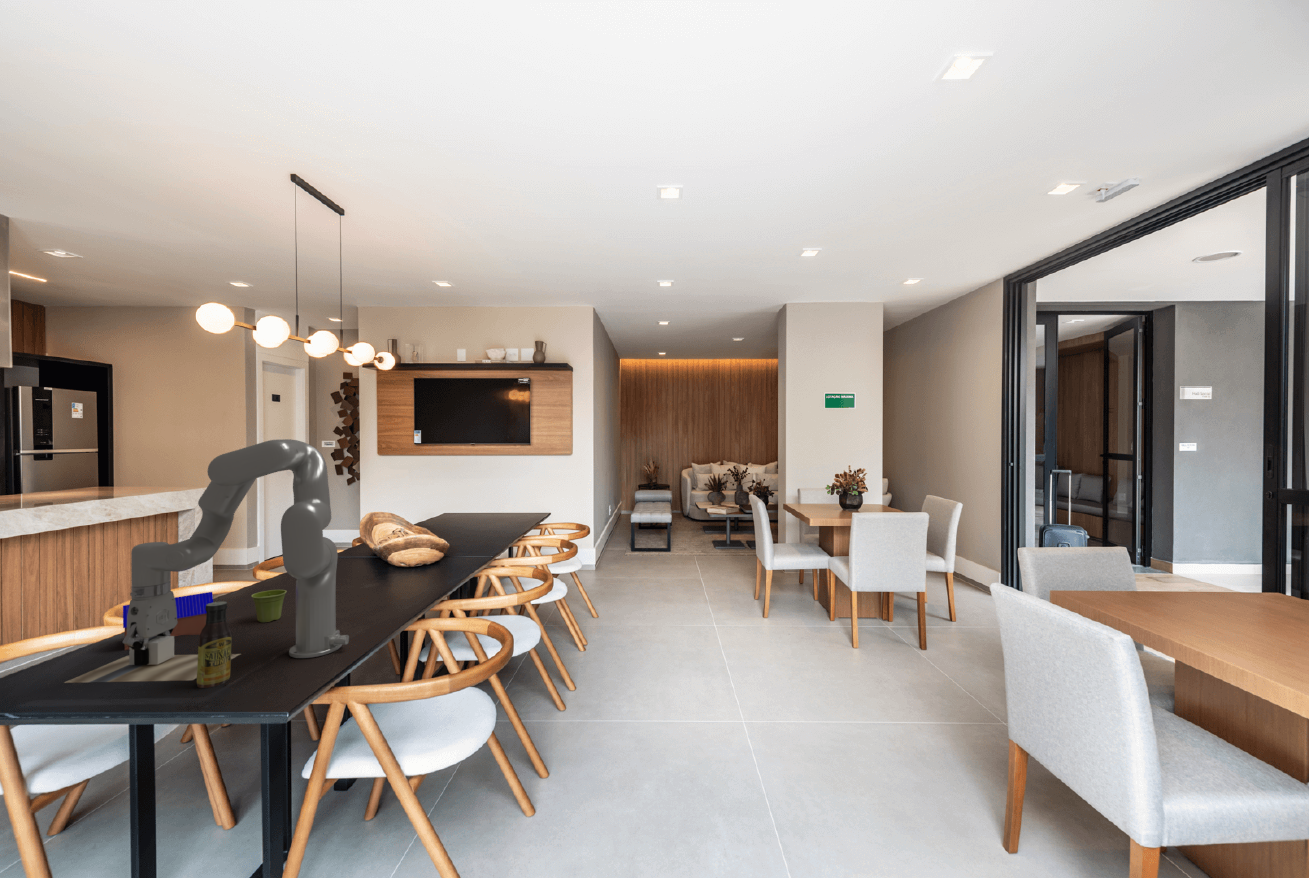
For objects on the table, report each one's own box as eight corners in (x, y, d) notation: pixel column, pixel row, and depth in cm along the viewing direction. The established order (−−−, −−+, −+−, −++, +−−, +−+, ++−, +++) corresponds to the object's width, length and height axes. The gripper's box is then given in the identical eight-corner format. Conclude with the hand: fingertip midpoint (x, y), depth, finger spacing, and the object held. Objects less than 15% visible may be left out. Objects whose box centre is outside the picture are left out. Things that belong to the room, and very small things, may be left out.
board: (241, 658, 145) (241, 653, 145) (192, 685, 129) (192, 680, 129) (127, 660, 144) (127, 655, 144) (63, 687, 128) (63, 682, 128)
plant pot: (258, 616, 180) (258, 590, 180) (290, 613, 183) (290, 588, 183) (246, 625, 171) (246, 598, 171) (280, 622, 174) (280, 595, 174)
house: (123, 640, 159) (122, 601, 159) (209, 624, 174) (209, 588, 174) (123, 651, 151) (123, 610, 151) (214, 633, 165) (214, 595, 165)
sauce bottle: (203, 695, 124) (203, 609, 124) (191, 689, 127) (191, 605, 127) (236, 684, 130) (236, 602, 130) (224, 678, 133) (224, 598, 133)
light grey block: (174, 656, 143) (174, 634, 143) (157, 664, 138) (157, 641, 138) (146, 656, 143) (147, 635, 143) (129, 664, 138) (129, 642, 138)
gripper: (135, 599, 132) (136, 673, 132) (193, 581, 149) (193, 647, 149) (104, 600, 132) (104, 674, 132) (165, 581, 149) (165, 647, 149)
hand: (151, 659), depth 140 cm, fingers closed on light grey block, 5 cm apart
